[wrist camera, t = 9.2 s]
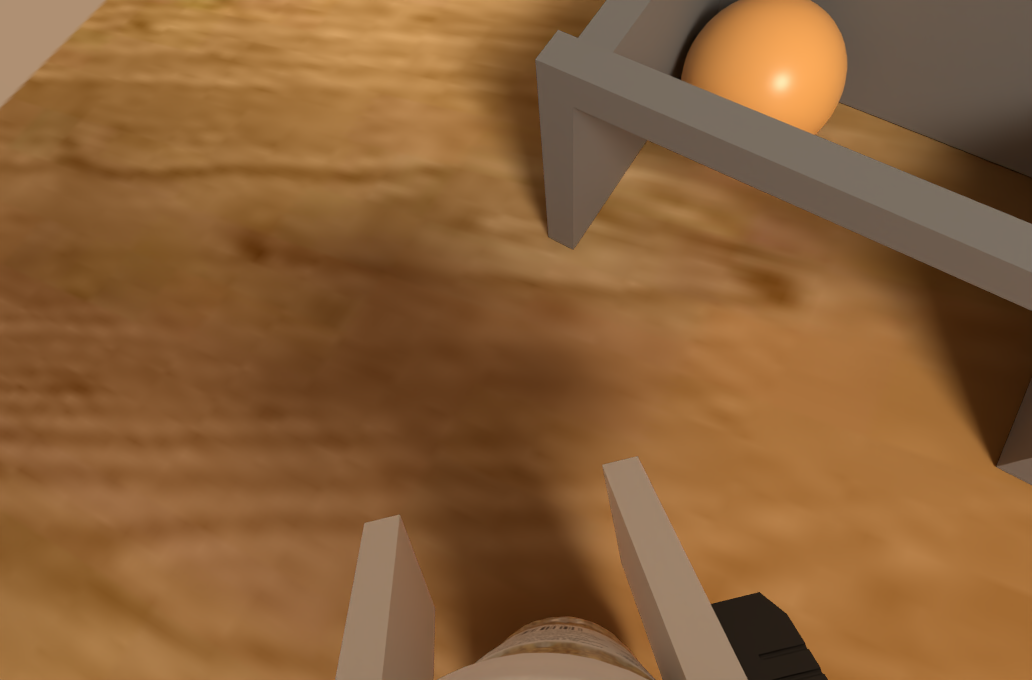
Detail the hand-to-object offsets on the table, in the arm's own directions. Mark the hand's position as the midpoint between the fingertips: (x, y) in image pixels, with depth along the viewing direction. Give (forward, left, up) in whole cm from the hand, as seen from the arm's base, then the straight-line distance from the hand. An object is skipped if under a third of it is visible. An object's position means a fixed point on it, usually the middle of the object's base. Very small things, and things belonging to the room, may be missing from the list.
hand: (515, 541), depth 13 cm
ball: (-1, +16, -3) cm, 17 cm away
